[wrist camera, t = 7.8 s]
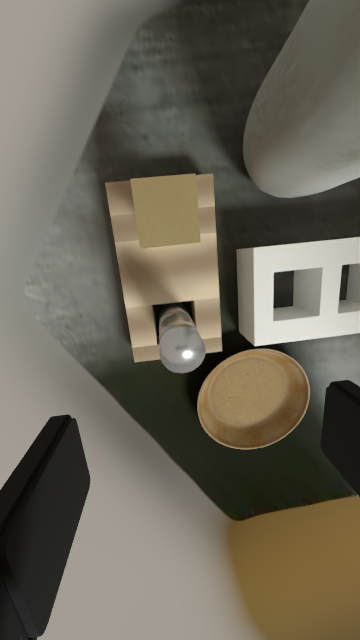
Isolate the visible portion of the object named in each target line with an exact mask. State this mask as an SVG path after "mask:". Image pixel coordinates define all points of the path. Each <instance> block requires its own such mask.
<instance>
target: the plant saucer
mask: <svg viewBox="0 0 360 640" xmlns="http://www.w3.org/2000/svg"><path fill="white" fill-rule="evenodd" d="M309 398H310V386H309V381H308V378H307V375H306V373H305V372H304V370H303V368H302V367H301V366H300V364H299V363H298V362H297V361H295V360H294V359H293V358H292V357H290V356H288V355H286V354H284V353H282V352H280V351H276V350H271V349H251V350H246V351H243V352H240V353H237V354H235V355H232V356H230V357H229V358H227V359H225V360H224V361H222V362H221V363H220V364H218V365H217V366H216V367H215V368H214V369H213V370H212V371H211V372H210V373H209V375H208V376H207V377H206V379H205V381H204V382H203V384H202V386H201V389H200V392H199V395H198V401H197V411H198V416H199V420H200V422H201V424H202V426H203V428H204V430H205V431H206V432H207V434H209V435H210V437H212V438H213V439H214V440H215V441H217V442H219V443H221V444H223V445H225V446H228V447H231V448H237V449H256V448H261V447H265V446H268V445H270V444H273V443H275V442H277V441H279V440H281V439H282V438H283V437H285V436H286V435H288V434H289V433H290V432H291V431H292V430H293V429H294V428H295V427H296V426H297V425H298V423H299V422H300V421H301V419H302V418H303V416H304V414H305V412H306V409H307V407H308V403H309Z"/></svg>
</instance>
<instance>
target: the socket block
mask: <svg viewBox="0 0 360 640" xmlns="http://www.w3.org/2000/svg"><path fill="white" fill-rule="evenodd" d="M196 183H197V197H198V212H199V226H200V240H201V242H199V243H192V244H182V245H172V246H162V247H151V248H140V245H139V238H138V231H137V224H136V217H135V209H134V202H133V195H132V188H131V180H130V181H118V182H106V183H105V186H106V192H107V198H108V204H109V210H110V216H111V222H112V228H113V234H114V240H115V247H116V253H117V259H118V265H119V271H120V277H121V283H122V289H123V295H124V301H125V307H126V313H127V319H128V325H129V331H130V337H131V343H132V349H133V355H134V361H135V362H141V361H149V360H157V359H160V354H159V336H157V329H156V321H155V314H154V306H153V305H157V304H166V303H175V302H184V301H191V308H192V319H193V323H194V325H195V327H196V328H197V330H198V332H199V334H200V336H201V338H202V340H203V342H204V344H205V349H206V352H205V353H212V352H220V351H222V336H221V317H220V298H219V279H218V259H217V240H216V221H215V202H214V182H213V174H203V175H196Z"/></svg>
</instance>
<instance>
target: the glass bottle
mask: <svg viewBox="0 0 360 640" xmlns="http://www.w3.org/2000/svg"><path fill="white" fill-rule="evenodd" d="M243 157H244V162H245V166H246V169H247V172H248V174H249V176H250V178H251V180H252V182H253V183H254V185H255V186H256V187H257V188H258V189H259V190H261V191H263V192H265V193H268V194H270V195H272V196H274V197H282V198H294V197H301V196H307V195H313V194H316V193H320V192H323V191H326V190H329V189H331V188H334V187H336V186H339V185H341V184H344V183H346V182H349V181H352V180H354V179H357V178H359V177H360V0H309V2H308V4H307V5H306V7H305V9H304V11H303V13H302V15H301V16H300V18H299V20H298V22H297V24H296V26H295V27H294V29H293V31H292V33H291V34H290V36H289V38H288V39H287V41H286V43H285V45H284V46H283V48H282V50H281V52H280V53H279V55H278V57H277V58H276V60H275V62H274V63H273V65H272V67H271V69H270V70H269V72H268V74H267V75H266V77H265V79H264V81H263V83H262V85H261V87H260V89H259V91H258V93H257V95H256V97H255V99H254V101H253V104H252V107H251V109H250V112H249V115H248V118H247V122H246V126H245V131H244V137H243Z"/></svg>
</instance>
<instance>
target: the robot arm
mask: <svg viewBox="0 0 360 640" xmlns="http://www.w3.org/2000/svg"><path fill="white" fill-rule="evenodd" d="M321 448H322V451H323V453H324V454H325V456H326V457H327V458H328V459H329V461H330V462H331V463H332V464H333V465H334V467H335V468H336V469H337V470H338V471H339V473H340V474H341V475H342V476H343V477H344V479H345V480H346V481H347V482H348V483H349V485H350V486H351V487H352V488H353V489H354V491H355V492H356V493H357V494H358V495H359V497H360V387H359V386H358V385H356V384H355V383H353V382H351V381H349V380H343V381H335V382H331V383H330V385H329V387H327V388H326V396H325V406H324V416H323V427H322V437H321ZM89 487H90V475H89V470H88V466H87V462H86V459H85V454H84V450H83V446H82V442H81V437H80V433H79V430H78V425H77V421H76V419H75V418H71V416H70V415H61V416H53V417H51V418H50V419H49V420H48V422H47V423H46V425H45V426H44V427H43V429H42V430H41V432H40V433H39V435H38V436H37V438H36V439H35V441H34V442H33V444H32V445H31V446H30V448H29V449H28V451H27V452H26V454H25V455H24V457H23V458H22V460H21V461H20V463H19V464H18V466H17V467H16V468H15V470H14V471H13V472H12V474H11V476H10V477H9V478H8V480H7V481H6V483H5V484H4V486H3V487H2V489H1V490H0V640H37V637H39V636H41V635H43V633H44V631H45V629H46V627H47V624H48V621H49V618H50V615H51V612H52V608H53V605H54V602H55V598H56V595H57V592H58V589H59V585H60V582H61V579H62V576H63V572H64V569H65V566H66V562H67V559H68V556H69V553H70V549H71V546H72V543H73V540H74V536H75V533H76V530H77V526H78V523H79V520H80V517H81V514H82V510H83V507H84V503H85V500H86V497H87V494H88V491H89Z"/></svg>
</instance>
